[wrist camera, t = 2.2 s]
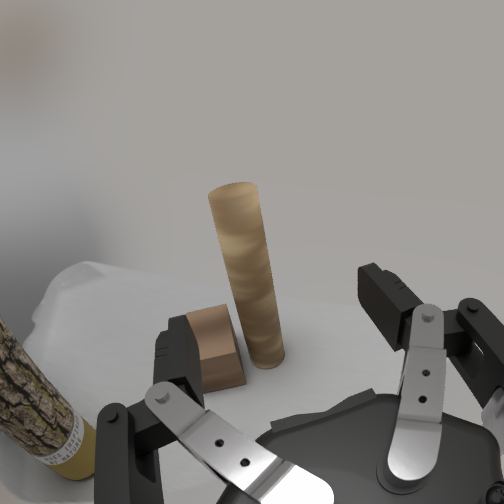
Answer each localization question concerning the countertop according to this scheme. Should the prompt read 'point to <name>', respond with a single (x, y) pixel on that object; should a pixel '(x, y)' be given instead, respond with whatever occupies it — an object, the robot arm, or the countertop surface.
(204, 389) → the wooden block
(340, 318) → the countertop surface
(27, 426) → the brown bark cylinder
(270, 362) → the dowel
